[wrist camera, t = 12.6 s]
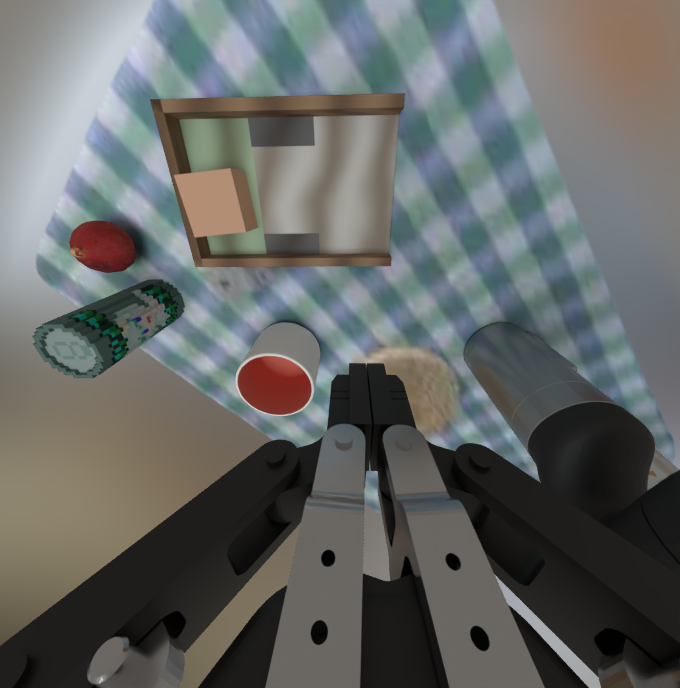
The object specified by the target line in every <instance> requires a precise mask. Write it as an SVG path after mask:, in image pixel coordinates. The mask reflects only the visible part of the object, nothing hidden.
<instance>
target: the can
mask: <svg viewBox="0 0 680 688" xmlns="http://www.w3.org/2000/svg"><path fill="white" fill-rule="evenodd" d="M184 307H185V306H184V303H183V299H182V296H181V294H178V292H177V289H176V288H173V285H169V283H163V281H162V280H147V281H144V282H142V283H140V284H137V285H135V286H132V287H130V288H128V289H125V290H123V291H121V292H118V293H116V294H113V295H111V296H109V297H106V298H104V299H101V300H99V301H97V302H94V303H92V304H89V305H87V306H85V307H82V308H80V309H78V310H75V311H73V312H71V313H68V314H66V315H63V316H61V317H58V318H56V319H54V320H51V321H49V322H47V323H44V324H42V326H40V327H38V328H36V330H37V331H36V332H34V333H35V335H34V336H33V338H34V340H35V341H36V343H34V344H33V345H34V346H35V348H36V349H37V351H38V352H39V354H40V355H41V357H42V358H43V360H44V361H45V362H49V363H50V365H51V366H52V367H53V368H57V369H58V371H59V372H64V374H65V375H73V376H74V378H94V377H96V376H97V375H100V374H101V373H103V372H104V371H105V370H107V369H108V368H110V367H111V366H112V365H114V364H115V363H116V362H118V361H119V360H121V359H122V358H124V357H125V356H126V355H128V354H129V353H131V352H132V351H133V350H135V349H136V348H138V347H139V346H140V345H142V344H143V343H144V342H146V341H147V340H149V339H150V338H151V337H153V336H154V335H156V334H157V333H158V332H160V331H161V330H163V329H164V328H165V327H167V326H168V325H170V324H171V323H172V322H174V321H175V320H177V319H178V318H179V317H180V315H182V313H183V312H184V311H183V308H184Z"/></svg>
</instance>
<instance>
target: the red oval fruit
mask: <svg viewBox="0 0 680 688" xmlns="http://www.w3.org/2000/svg"><path fill="white" fill-rule="evenodd" d="M69 242H70V248H71V249H70V251H69V252H70V253H71V254H72V255H73V256H75V257H76V259H77V260H78V261H79V262H81V263H82V264H84V265H85V266H87V267H88V268H90V269H93V270H97V271H101V272H106V273H111V272H119V271H124V270H125V269H127V268H128V267H129V266H131V265H132V264H133V262H134V258H135V254H136V251H135V245H134V243H133V241H132V239H131V237H130V236H129V235H128V234H127V233H126V232H125V231H124V230H122V229H121V228H119V227H118V226H116V225H114V224H112V223H108V222H105V221H90V222H86V223H83V224H81V225H80V226H78V227H77V228H76V229H75V230H74V231H73V232H72V235H71V238H70V241H69Z"/></svg>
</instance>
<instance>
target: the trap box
mask: <svg viewBox="0 0 680 688" xmlns="http://www.w3.org/2000/svg"><path fill="white" fill-rule="evenodd" d="M404 95H405V93H402V94H360V95H318V96H276V97H234V98H192V99H150V101H151V105H152V108H153V112H154V116H155V119H156V123H157V127H158V130H159V134H160V138H161V142H162V145H163V149H164V153H165V156H166V160H167V164H168V167H169V171H170V175H171V178H172V182H173V186H174V190H175V193H176V197H177V201H178V204H179V208H180V212H181V215H182V219H183V223H184V226H185V230H186V234H187V238H188V241H189V245H190V249H191V252H192V256H193V260H194V263H195V267H293V266H391V256H390V255H389V241H390V227H391V214H392V201H393V187H394V174H395V160H396V147H397V134H398V120H399V114H400V112H401V111H402V109H403V107H404ZM228 168H232V169H236V170H240V171H245V172H246V177H247V181H248V186H249V190H250V194H251V199H252V203H253V208H254V212H255V216H256V221H257V225H258V228H256V229H253V230H251V231H248V232H242V233H233V234H223V235H213V236H204V237H194V234H193V231H192V228H191V225H190V222H189V219H188V216H187V213H186V210H185V207H184V204H183V201H182V198H181V195H180V192H179V189H178V186H177V183H176V180H175V177H174V175H179V174H187V173H195V172H203V171H211V170H220V169H228Z"/></svg>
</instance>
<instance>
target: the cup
mask: <svg viewBox="0 0 680 688" xmlns="http://www.w3.org/2000/svg"><path fill="white" fill-rule="evenodd" d="M319 361H320V347H319V344H318V342H317V340H316V338H315V337H314V336H313V334H312V333H311V332H310V331H308V330H307V329H306V328H304V327H302V326H300V325H297V324H294V323H287V322H283V323H277V324H274V325H271V326H269V327H268V328H266V329H265V330H264V331H263V332H262V333H261V334H260V335H259V337H258V338H257V340H256V342H255V343H254V345H253V346H252V348H251V349H250V351H249V353H248V354H247V356H246V357H245V359H244V360H243V362H242V364H241V365H240V367H239V368H238V370H237V373H236V387H237V390H238V392H239V394H240V396H241V397H242V399H243V400H244V401H245V402H246V403H247V404H248V405H250V406H251V407H252V408H254V409H256V410H257V411H260V412H262V413H265V414H269V415H274V416H286V415H291V414H295V413H297V412H299V411H301V410H303V409H304V408H305V407H306V406H307V405H308V404H309V403H310V401H311V400H312V398H313V395H314V389H315V384H316V378H317V372H318V367H319Z"/></svg>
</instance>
